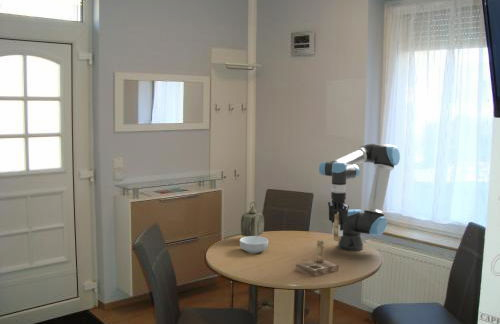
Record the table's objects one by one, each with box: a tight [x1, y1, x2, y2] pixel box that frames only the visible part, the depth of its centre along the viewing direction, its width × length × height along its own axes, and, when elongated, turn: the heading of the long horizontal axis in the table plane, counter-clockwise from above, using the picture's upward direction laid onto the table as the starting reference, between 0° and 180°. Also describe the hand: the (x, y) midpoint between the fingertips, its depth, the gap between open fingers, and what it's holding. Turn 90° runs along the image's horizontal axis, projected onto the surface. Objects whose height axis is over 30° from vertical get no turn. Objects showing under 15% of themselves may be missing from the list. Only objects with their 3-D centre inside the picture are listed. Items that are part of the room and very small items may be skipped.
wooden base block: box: [294, 240, 339, 278], centre depth 259 cm, size 18×13×14 cm
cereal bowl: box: [239, 235, 269, 254], centre depth 292 cm, size 17×17×7 cm
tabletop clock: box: [240, 201, 265, 237], centre depth 312 cm, size 14×9×25 cm, turn 150°
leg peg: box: [333, 213, 341, 242], centre depth 266 cm, size 4×4×14 cm
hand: (337, 235), depth 267 cm, fingers closed on leg peg, 4 cm apart
